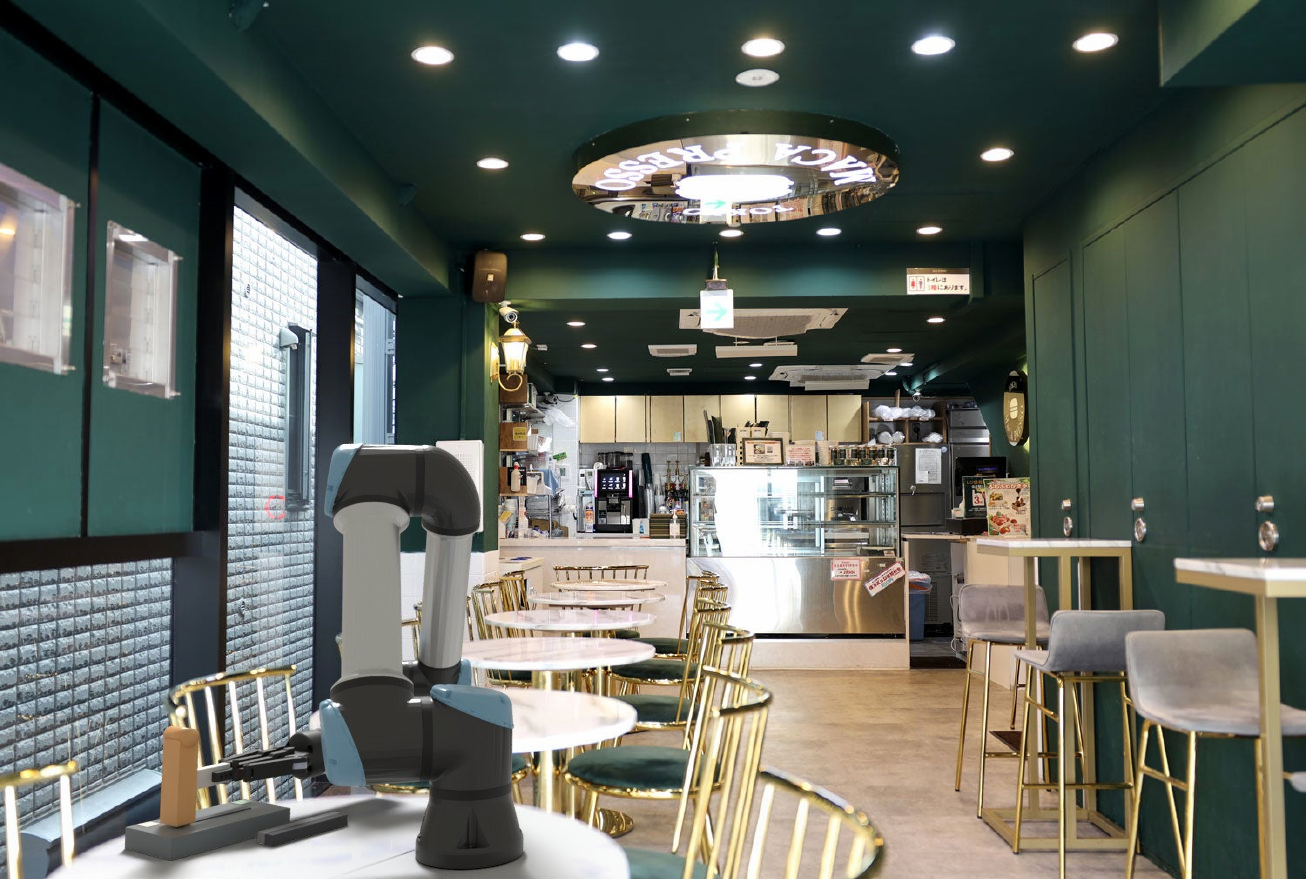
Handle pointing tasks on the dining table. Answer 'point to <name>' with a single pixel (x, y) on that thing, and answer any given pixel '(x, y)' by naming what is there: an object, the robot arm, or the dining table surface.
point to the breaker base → (206, 829)
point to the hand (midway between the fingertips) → (188, 780)
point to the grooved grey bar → (302, 828)
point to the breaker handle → (179, 776)
